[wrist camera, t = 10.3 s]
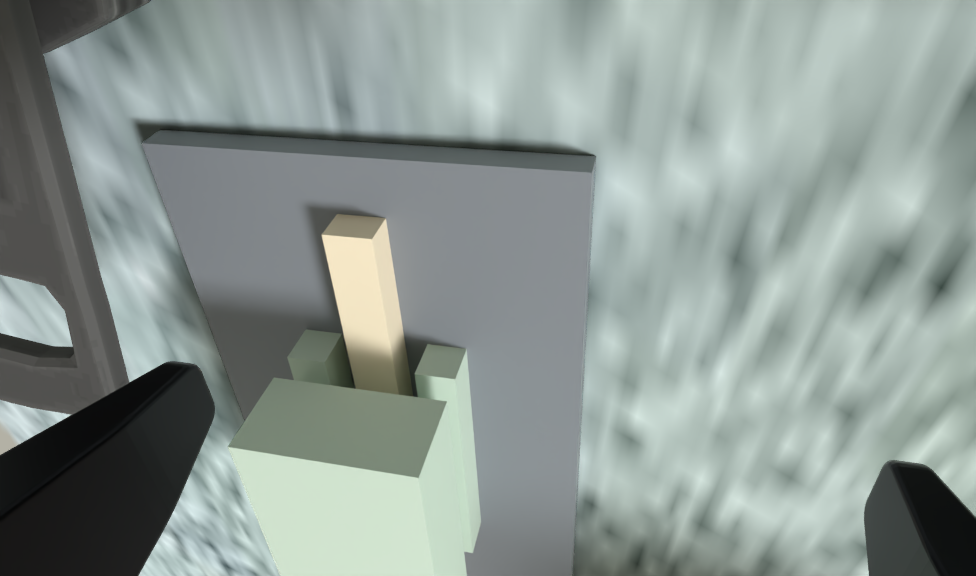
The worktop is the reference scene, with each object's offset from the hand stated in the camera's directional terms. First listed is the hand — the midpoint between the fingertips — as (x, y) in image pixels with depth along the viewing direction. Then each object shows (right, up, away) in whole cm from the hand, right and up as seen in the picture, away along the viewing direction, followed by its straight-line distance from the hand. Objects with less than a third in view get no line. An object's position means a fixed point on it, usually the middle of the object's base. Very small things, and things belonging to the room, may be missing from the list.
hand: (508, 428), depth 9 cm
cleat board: (-4, -3, +19) cm, 20 cm away
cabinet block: (-4, -4, +18) cm, 19 cm away
